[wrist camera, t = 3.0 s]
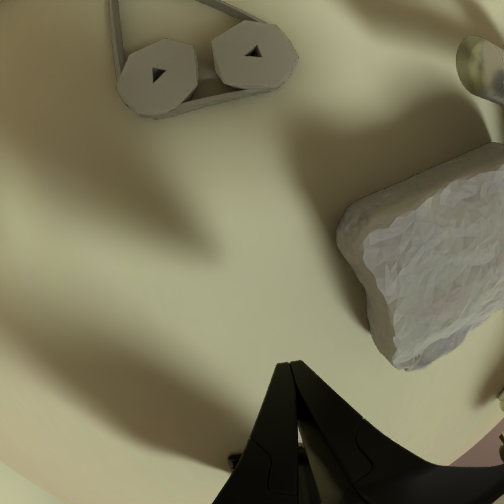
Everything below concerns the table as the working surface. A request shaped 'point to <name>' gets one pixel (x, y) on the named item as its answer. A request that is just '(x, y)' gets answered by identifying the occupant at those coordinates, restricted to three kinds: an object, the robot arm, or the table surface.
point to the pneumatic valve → (503, 448)
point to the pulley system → (186, 65)
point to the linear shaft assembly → (481, 68)
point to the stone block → (430, 256)
